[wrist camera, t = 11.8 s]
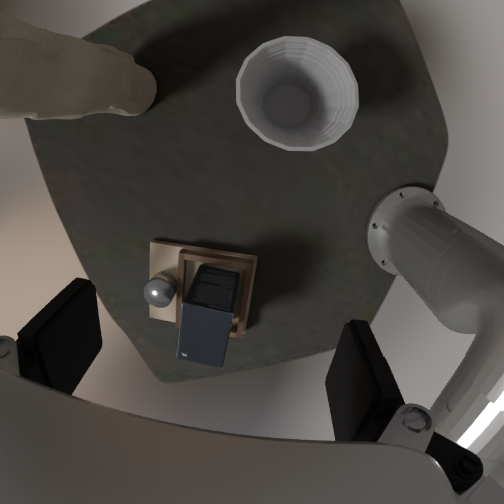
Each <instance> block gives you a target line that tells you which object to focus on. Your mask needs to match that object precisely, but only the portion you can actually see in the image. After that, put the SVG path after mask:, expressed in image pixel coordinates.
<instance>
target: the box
mask: <svg viewBox="0 0 504 504" xmlns="http://www.w3.org/2000/svg"><path fill="white" fill-rule="evenodd" d="M239 277H240V273H237V272H233V271H227V270H223V269H218V268H213V267H209V266H204V265H200V266H199V268H198V270H197V272H196V274H195V276H194V279H193V281H192V283H191V285H190V287H189V289H188V292H187V294H186V296H185V298H184V300H183V302H182V310H181V321H180V332H179V342H178V350H177V358H178V359H183V360H188V361H192V362H197V363H201V364H206V365H211V366H216V367H222V366H223V362H224V358H225V353H226V349H227V344H228V340H229V335H230V330H231V325H232V320H233V316H234V310H235V303H236V296H237V290H238V284H239Z"/></svg>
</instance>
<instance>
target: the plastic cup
mask: <svg viewBox="0 0 504 504" xmlns="http://www.w3.org/2000/svg"><path fill="white" fill-rule="evenodd" d="M236 103H237V105H238V107H239V109H240V111H241V114H242V116H243V118H244V120H245V122H246V124H247V125H248V126H249V127H250V128H251V129H252V130H253V131H254V132H255V133H256V134H257V135H258V136H260V137H261V138H262V139H263V140H264V141H265V142H268V143H270V144H273V145H275V146H278V147H280V148H283V149H285V150H287V151H314V150H317V149H320V148H322V147H325V146H327V145H330V144H333V143H335V142H336V141H337V140H338V139H339V138H340V137H341V136H342V135H343V134H344V133H345V132H346V131H347V130H348V129H349V128H350V127H351V125H352V123H353V120H354V118H355V115H356V112H357V110H358V107H359V97H358V83H357V81H356V79H355V77H354V75H353V72H352V70H351V68H350V66H349V64H348V63H347V62H346V61H345V60H344V59H343V58H342V57H341V56H340V55H339V54H338V53H337V52H336V51H335V50H334V49H333V48H332V47H330V46H328V45H326V44H323V43H321V42H319V41H316V40H314V39H312V38H309V37H294V36H284V37H281V38H277V39H274V40H271V41H268V42H266V43H263V44H261V45H260V46H259V47H258V48H257V49H256V50H255V51H253V52H252V53H251V54H250V55H249V56H248V57H247V58H246V59H245V60H244V63H243V65H242V67H241V69H240V72H239V74H238V76H237V78H236Z"/></svg>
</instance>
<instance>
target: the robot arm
mask: <svg viewBox="0 0 504 504" xmlns="http://www.w3.org/2000/svg"><path fill="white" fill-rule="evenodd" d="M400 192H401V195H400ZM433 203H434V204H433ZM374 223H375V225H374V226H372V225H373V224H374ZM366 236H367V245H368V248H369V251H370V253H371V256H372V257H373V259H374V260H375V262H376V263H377V264H378V265H379V266H380V267H381V268H382V269H384V270H385V271H387V272H389V273H391V274H394V275H400V276H403V277H404V278H405V279H406V281H408V283H409V284H410V285H411V287H412V288H413V289H414V290H415V292H416V293H417V294H418V295H419V296H420V298H421V299H422V300H423V301H424V303H425V304H426V305H427V306H428V308H429V309H430V310H431V311H432V312H433V314H434V315H435V316H436V317H437V319H438V320H439V321H440V322H441V323H442V324H443V325H444V326H446V327H447V328H448V329H450V330H453V331H455V332H458V333H465V334H476V335H475V338H474V341H473V342H472V344H471V346H470V347H469V349H468V351H467V353H466V355H465V357H464V359H463V360H462V362H461V363H460V365H459V367H458V368H457V370H456V371H455V373H454V375H453V376H452V377H451V379H450V380H449V382H448V383H447V385H446V386H445V388H444V389H443V391H442V392H441V394H440V395H439V397H438V398H437V399H436V401H435V402H434V404H433V406H432V407H431V409H430V410H428V409H426V408H425V407H423V406H421V405H418V404H412V403H411V404H405V402H404V400H403V397H402V395H401V393H400V390H399V388H398V385H397V383H396V381H395V379H394V376H393V374H392V372H391V369H390V367H389V365H388V363H387V360H386V359H385V357H383V354H382V352H381V350H380V348H379V346H378V343H377V341H376V339H375V337H374V335H373V333H372V331H371V328H370V326H369V324H368V322H367V321H364V320H353V319H352V320H351V321H350V323H346V324H345V325H344V328H343V331H342V334H341V337H340V340H339V343H338V346H337V349H336V351H335V355H334V357H333V360H332V363H331V365H330V368H329V371H328V374H327V376H326V382H325V386H326V391H327V396H328V402H329V407H330V413H331V418H332V424H333V429H334V435H335V441H320V440H300V439H283V438H270V437H260V436H250V435H242V434H234V433H226V432H220V431H213V430H207V429H201V428H195V427H190V426H184V425H179V424H174V423H169V422H165V421H160V420H156V419H152V418H147V417H143V416H139V415H135V414H132V413H128V412H124V411H120V410H117V409H113V408H110V407H106V406H103V405H100V404H96V403H93V402H90V401H87V400H84V399H81V398H78V397H75V396H72V393H73V392H74V390H75V389H76V387H77V385H78V384H79V382H80V381H81V379H82V377H83V376H84V374H85V373H86V371H87V370H88V368H89V367H90V365H91V364H92V362H93V361H94V359H95V357H96V356H97V354H98V353H99V352H100V350H101V348H102V336H101V329H100V323H99V322H100V321H99V315H98V306H97V296H96V288H95V285H93V284H92V282H91V281H90V280H87V279H83V278H75V279H74V280H73V281H72V282H71V283H70V284H69V285H67V286H66V287H65V288H64V289H63V290H62V291H61V292H60V293H59V294H58V295H57V296H55V297H54V298H53V299H52V300H51V301H50V302H49V303H48V304H47V305H46V306H45V307H44V308H43V309H42V310H41V311H40V312H39V313H37V314H36V316H34V317H33V318H32V319H31V320H30V321H29V322H28V323H27V324H26V325H25V326H24V327H23V328H22V329H21V330H20V331H19V332H18V333H17V334H18V339H17V340H16V341H15V340H14V339H13V338H11V337H9V336H0V504H504V246H503V245H502V244H500V243H498V242H497V241H495V240H493V239H491V238H490V237H488V236H486V235H485V234H483V233H481V232H480V231H478V230H476V229H475V228H473V227H471V226H469V225H468V224H466V223H464V222H462V221H461V220H459V219H457V218H455V217H453V216H451V215H449V214H448V213H446V212H445V208H444V206H443V205H442V203H441V202H440V200H439V199H438V198H437V197H436V196H435V195H434V194H433V193H431V192H430V191H428V190H426V189H424V188H421V187H417V186H404V187H400V188H397V189H395V190H392V191H391V192H389V193H388V194H386V195H385V196H384V197H383V198H382V199H381V200H380V201H379V202H378V203H377V205H376V206H375V208H374V209H373V211H372V213H371V215H370V218H369V221H368V225H367V233H366ZM383 260H384V261H383ZM382 261H383V262H382Z"/></svg>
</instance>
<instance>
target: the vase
mask: <svg viewBox="0 0 504 504" xmlns="http://www.w3.org/2000/svg"><path fill="white" fill-rule="evenodd" d="M156 91H157V86H156V80H155V78H154V76H153V74H152V73H151V72H150V71H149V70H147V69H146V68H144V67H142V66H139V65H137V64H135V62H134V58H133V56H131V55H129V54H127V53H125V52H122V51H118V50H117V49H116V48H115V47H112V46H106V45H104V44H93V43H90V42H88V41H85V40H83V39H80V38H76V37H72V36H68V35H62V34H58V33H54V32H51V31H48V30H46V29H42V28H38V27H35V26H33V25H30V24H28V23H25V22H23V21H21V20H19V19H16V18H14V17H11V16H9V15H6V14H2V13H0V119H9V118H25V117H29V118H31V119H35V120H43V119H76V118H81V117H83V116H85V115H89V114H94V113H117V114H120V115H124V116H137V115H140V114H142V113H144V112H145V111H146V110H147V109H148V108H149V107H150V106H151V104H152V103H153V101H154V99H155V96H156Z"/></svg>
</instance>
